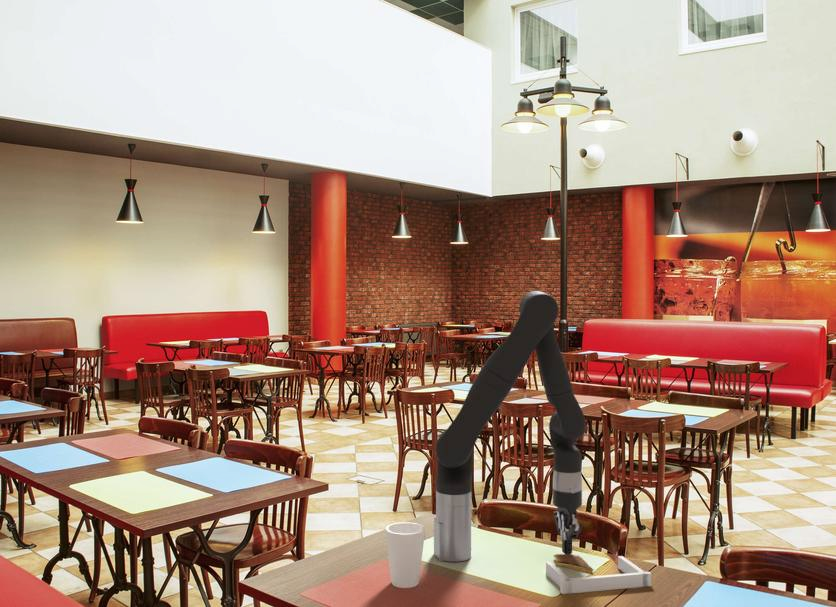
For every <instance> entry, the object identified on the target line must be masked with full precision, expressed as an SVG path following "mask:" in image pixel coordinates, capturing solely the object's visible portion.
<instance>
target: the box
mask: <svg viewBox="0 0 836 607" xmlns="http://www.w3.org/2000/svg"><path fill="white" fill-rule="evenodd" d="M617 569H618V570H620V571H621V572H622V573H618V574H617V573H615V574H604V575H593V576H583V577H571V578H570V577H569V576H567V575H566V574H565V573H564V572H563V571H562V570H561V569H559V568H558V566H556V565H555V563H552V561H546V562H545V575H546V576H547V577H548V578H549V579H550V580H551V581H553V583H555V584H556V585H557V586H558V587H559V589H560V593H561V594H562V595H567V594H569V595H570V594H577V593H578V594H580V593H581V594H582V593H590V592H591V593H592V592H603V591H611V590H622V589H637V588H644V587H645V588H646V587H647V588H648V587H652V572H650V571H645V570H643V569H641V568H640V567H638V566H637V565H636V564H634V563H633V562H631V561H630V560H629V559H628V558H626V557H624V556H623V555H618V556H617Z"/></svg>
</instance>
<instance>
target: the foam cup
mask: <svg viewBox="0 0 836 607" xmlns="http://www.w3.org/2000/svg"><path fill="white" fill-rule="evenodd" d="M384 532H385V533H384V534H385V535H384V536H385V541H386V549H387V557H388V565H389V571H390V579H391V580H390V581H391V584H392V586H393V587H397V588H400V589H401V588H402V589H410V588H415V587H416V586H418V585H419V582H420V574H421V567H422V566H421V565H422V558H423V551H424V543H425V542H424V541H425V540H426V527H425V526H424V525H423V524H421V523H416V522H408V521H407V522H405V521H403V522H395V523H391V524H389V525H386V526H385V531H384Z"/></svg>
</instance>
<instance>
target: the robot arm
mask: <svg viewBox="0 0 836 607" xmlns="http://www.w3.org/2000/svg"><path fill="white" fill-rule="evenodd" d="M518 307H519V309H518V310H519V312H518V313H519V317H518V319H517V321H516V322H515V324H514V326H513V328H512V330H511V332H509V335H508V336H507V337H506V339H505V340H504V341H503V342H502V343H501V344H500V345H499V346H498V347H497V348H495V351H493V353H491V355H490V356H489V357H488V358H487V359H486V361H485V362H484V364H483V366H482V367H481V369H480V370H479V372H478V374H477V376H475V379H474V380H473V383H472V384H471V386H470V388H469V391H468V393H467V394H466V398H465V399H464V401H463V404H462V406H461V409H460V410H459V411H458V413H457V415H456V416H455V418H454V419H453V421H452V422H451V423H450V425H449V426H448V428H446V429H445V430H443V431H442V432H441V433H440V435H439V436H438V438H437V440H436V443H435V446H434V447H435V456H436V458H437V459H436V460H437V462H436V463H437V465H436V466H437V469H436V470H437V471H436V480H435V481H436V482H435V499H436V500H435V501H436V502H435V517H434V518H433V554H434V556H435V557H436V558H437V559H438V561H439V562H443V561H444V562H451V563H452V562H453V563H454V562H455V563H456V562H457V563H458V562H464V561H468V560H469V559H471V557H472V481H473V449H474V447H475V445H476V442H477V440H478V439H479V437H480V435H481V432H482V431H483V429H484V428H485V426H486V424H487V423H488V422H489V421H490V420H491V419H492V417H493V416H494V415H495V413H497V411H498V409H499V408H500V407H501V405H502V404H503V403H504V401H505V400H506V398H507V397H508V395H509V394H510V393H511V390H512V389H513V387H514V386H515V384H516V382H517V380H518V379H519V376H520V375H521V373H522V372H523V370H524V368H525V367H526V364H527V363H528V361H529V359H530V357H531V355H532V353H533V351H535V355H536V358H537V359H536V360H537V363H538V368H539V371H540V376H541V380H542V384H543V388H544V393H545V397H546V399H547V401H548V403H549V404H550V405H551V406H552V407H553V408H554V409H555V411H554V412H553V413H552V415H551V417H550V419H549V423H548V424H549V425H548V429H549V431H548V433H549V436H550V437H549V438H550V442H551V446H552V450H553V475H552V505H553V506H555V507H556V509H557V511H553V512H552V513H553V518H554V522H555V526H556V529H557V533H558V534H560V538H561V552H562V554H572V553H573V540H577V539H578V537H579V534H580V532H581V530H582V527H583V525H582V523H578V511H577V509H578V508H581V506H583V505H582V504H583V477H582V453H581V451H580V449H579V448H578V447H577V446H576V445H575V441H578V440H580V439H582V437H583V436H584V435H585V433H586V429H587V423H586V417H585V415H584V413H583V410H582V408H581V406H580V404H579V401H578V400H577V398H576V396H575V394H574V389H573V385H572V381H571V377H570V374H569V370H568V368H567V365H566V362H565V360H564V357H563V355H562V352H561V349H560V346H559V344H558V341H557V336H556V332H555V327H554V326H555V325H554V324H555V323H556V320H557V319H558V317H559V313H560V312H559V311H560V310H559V305H558V302H557V299H555V297H553V296H552V295H550V294H548V293H546V292H544V291H540V290H534V291H533V290H532V291H529V292H527V293H526V294H525V295H523V297H522V298H521V300H520V303H519V305H518Z"/></svg>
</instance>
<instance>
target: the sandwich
mask: <svg viewBox="0 0 836 607" xmlns="http://www.w3.org/2000/svg"><path fill="white" fill-rule="evenodd" d="M553 557H554V559H555V561H554V565H555V566H556V567H564V568H567V569H568V568H569V569H572V570H575V571H579V572H585V573H590V574H591V573H593V571H594V568H593V567H591V566H590V565H589V564H588V563H587V561H586V560H584V559H583V557H581V556H579V554H577V555H576V554H572V553H571V554H564V553H559V554H553Z"/></svg>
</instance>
